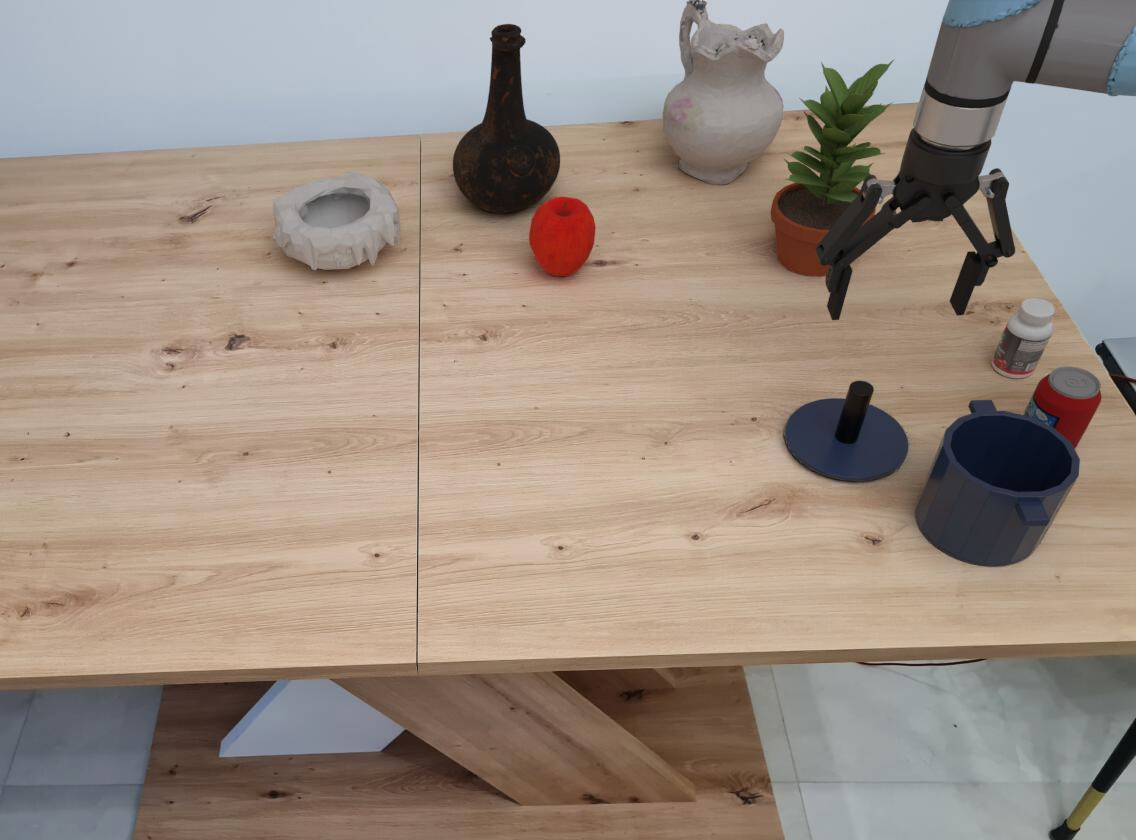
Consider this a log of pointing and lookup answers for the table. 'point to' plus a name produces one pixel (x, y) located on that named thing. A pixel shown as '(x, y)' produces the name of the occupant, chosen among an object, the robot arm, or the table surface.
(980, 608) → the table surface
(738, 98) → the ceramic pitcher
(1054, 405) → the beverage can
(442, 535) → the table surface
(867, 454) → the lid
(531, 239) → the apple
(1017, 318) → the pill bottle
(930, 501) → the pot
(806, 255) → the potted plant
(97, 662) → the table surface
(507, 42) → the glass bottle
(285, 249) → the bowl
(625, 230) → the table surface
